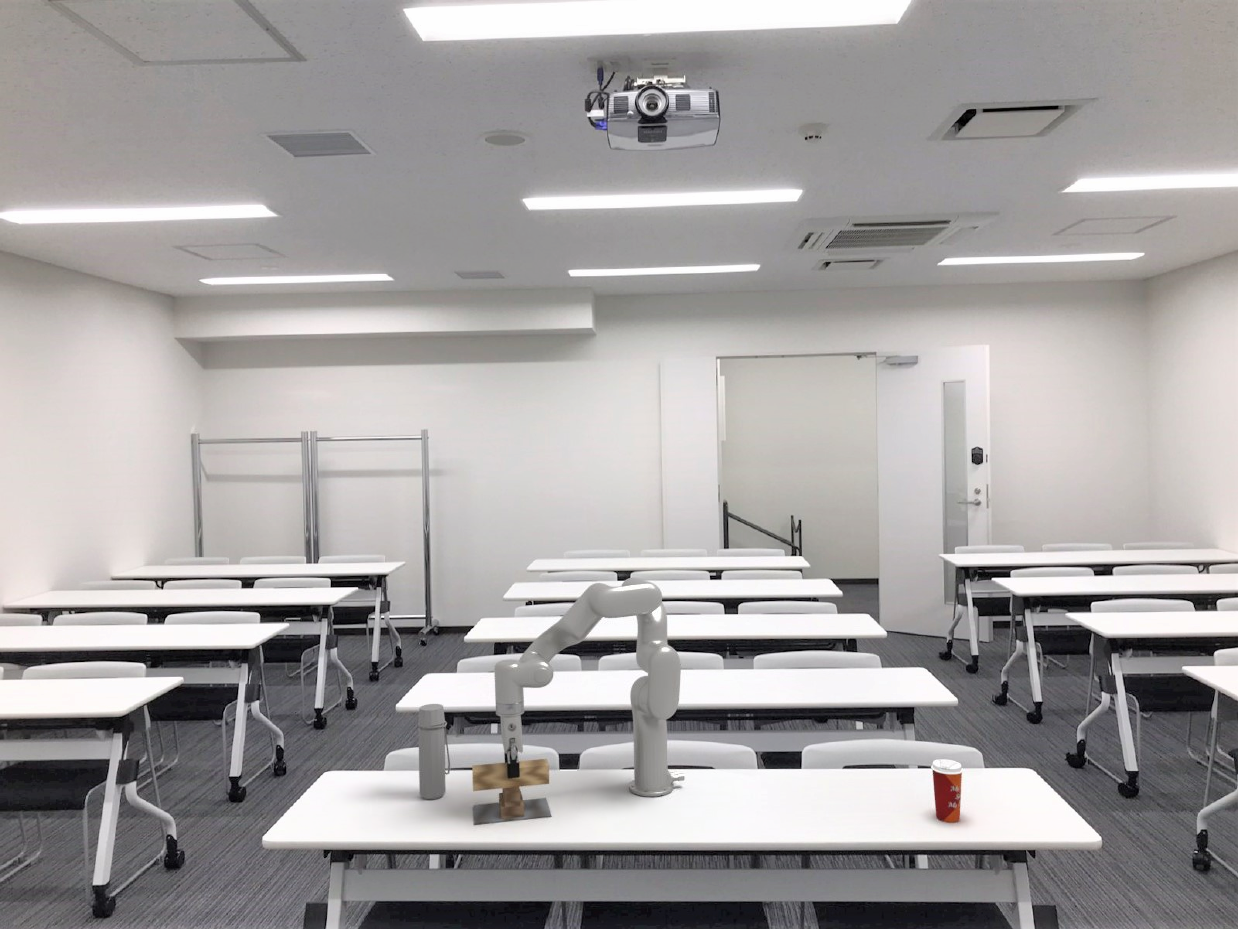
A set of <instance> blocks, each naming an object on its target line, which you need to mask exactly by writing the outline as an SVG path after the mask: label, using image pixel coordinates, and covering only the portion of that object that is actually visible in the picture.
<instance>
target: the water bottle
mask: <svg viewBox="0 0 1238 929" xmlns="http://www.w3.org/2000/svg"><path fill="white" fill-rule="evenodd" d="M417 725H418V727H417V728H418V730H417V732H418V773H419V774H418V779H419V782H418V783H419V784H418V785H419V796H420V797H421V798H422V799H424V800H437V799H439V798H442V797H443V796H444V795H445V793H446V789H447V788H446V775H449V774H450V772H451V760H450V752H449V745H448V736H447V728H446V727H447V725H448V722H447V721H446V718H445V711H444V705H443V704H440V703H429V704H424V705H420V707H419V712H418V722H417ZM446 754H447V763H448V767H447V772H446Z"/></svg>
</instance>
